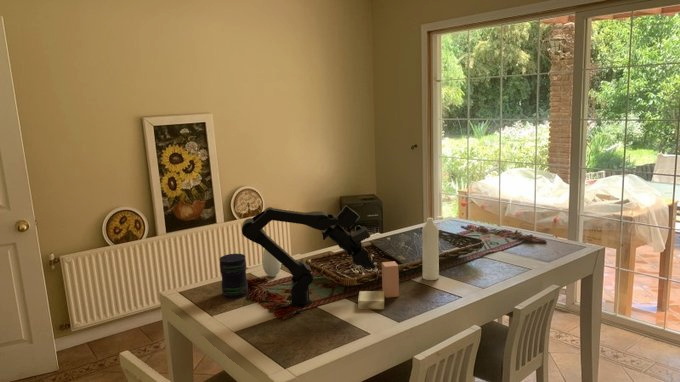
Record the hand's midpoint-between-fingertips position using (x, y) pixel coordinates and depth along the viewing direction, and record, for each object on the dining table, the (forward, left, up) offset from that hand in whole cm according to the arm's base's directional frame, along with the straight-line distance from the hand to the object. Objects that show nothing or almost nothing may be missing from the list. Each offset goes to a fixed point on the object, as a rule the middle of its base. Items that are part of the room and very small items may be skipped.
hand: (372, 263), depth 185 cm
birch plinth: (-6, -3, -13) cm, 15 cm away
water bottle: (+29, -11, -13) cm, 33 cm away
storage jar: (-25, +47, -13) cm, 55 cm away
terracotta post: (+5, -5, -13) cm, 14 cm away
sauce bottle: (-3, +48, -13) cm, 50 cm away
